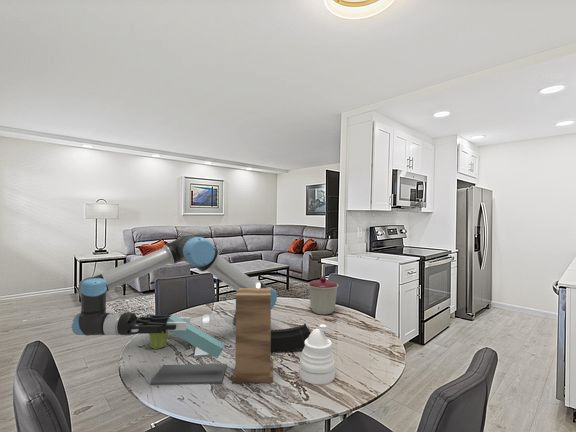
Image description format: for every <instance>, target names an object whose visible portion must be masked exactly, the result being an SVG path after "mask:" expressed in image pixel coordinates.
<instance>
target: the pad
mask: <svg viewBox="0 0 576 432" xmlns="http://www.w3.org/2000/svg"><path fill="white" fill-rule="evenodd" d="M227 368H228V363H205V364H204V363H203V364H201V363H200V364H197V363H196V364H195V363H194V364H193V363H192V364H188V363H187V364H162V366H161V367H160V369H159V370H158V371H157V373H156V374H155V376H154V377H153V378H152V380H151V381H150V382H149V385H150V386H156V385H157V386H158V385H159V386H161V385H162V386H163V385H165V386H166V385H170V386H171V385H209V384H210V385H218V384H219V385H220V384H223V381H224V377H225V374H226V373H227V372H226V371H227Z"/></svg>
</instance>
